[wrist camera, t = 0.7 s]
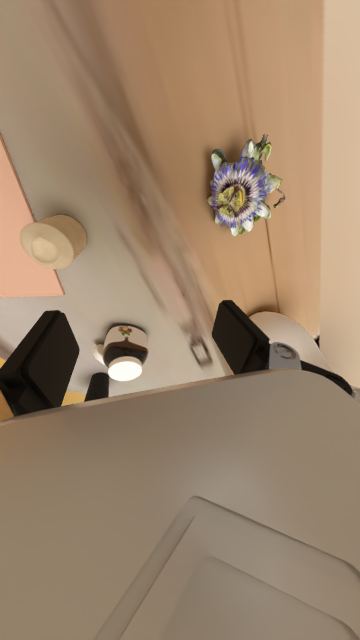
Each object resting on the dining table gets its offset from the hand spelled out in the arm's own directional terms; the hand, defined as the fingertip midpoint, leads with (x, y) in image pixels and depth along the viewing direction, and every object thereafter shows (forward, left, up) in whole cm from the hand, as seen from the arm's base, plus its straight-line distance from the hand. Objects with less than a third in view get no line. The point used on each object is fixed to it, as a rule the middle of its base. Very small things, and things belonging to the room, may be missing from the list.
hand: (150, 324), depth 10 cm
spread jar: (+25, -6, -25) cm, 36 cm away
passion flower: (-8, +17, -25) cm, 31 cm away
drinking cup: (+41, -15, -25) cm, 50 cm away
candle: (0, -11, -25) cm, 28 cm away
